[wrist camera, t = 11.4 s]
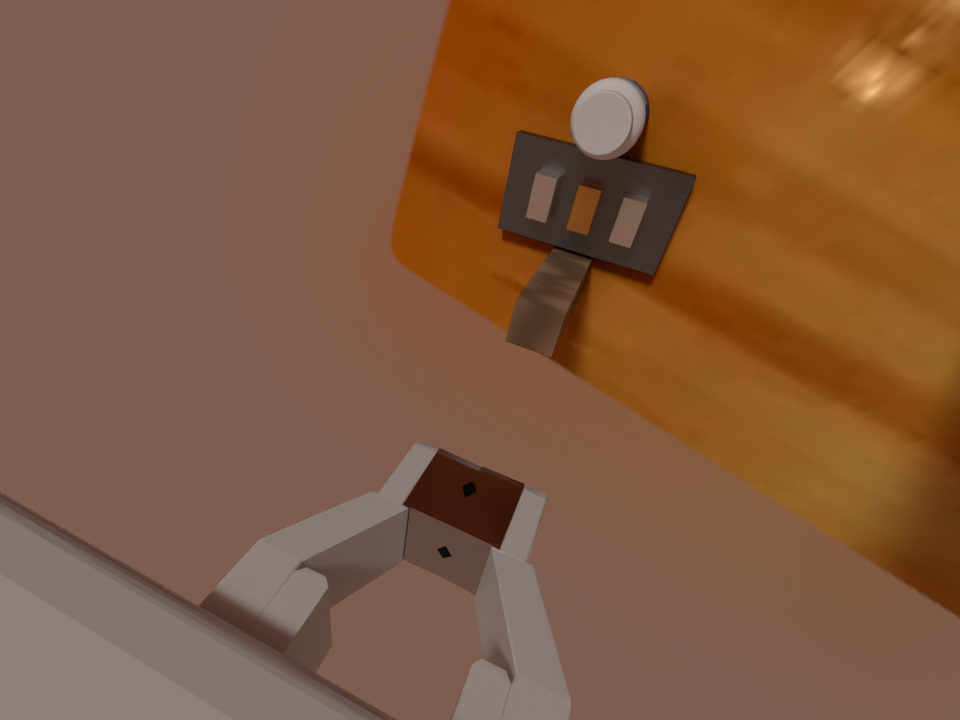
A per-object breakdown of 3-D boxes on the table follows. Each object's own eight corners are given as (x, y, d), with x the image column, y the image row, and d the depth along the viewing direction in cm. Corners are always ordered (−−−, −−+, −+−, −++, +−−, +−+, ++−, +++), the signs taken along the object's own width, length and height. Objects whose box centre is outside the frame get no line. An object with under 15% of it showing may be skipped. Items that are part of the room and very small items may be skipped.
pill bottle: (615, 162, 40) (599, 183, 32) (572, 119, 40) (546, 130, 32) (664, 109, 37) (660, 118, 29) (619, 61, 36) (602, 58, 29)
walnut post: (593, 256, 45) (564, 315, 34) (581, 291, 48) (551, 357, 37) (555, 245, 46) (516, 299, 35) (545, 279, 48) (505, 341, 37)
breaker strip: (695, 174, 38) (696, 182, 36) (654, 269, 44) (652, 283, 41) (521, 130, 42) (510, 134, 39) (502, 224, 47) (491, 233, 44)
